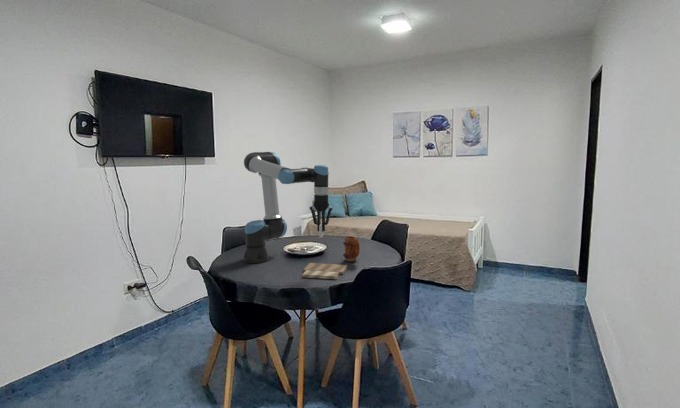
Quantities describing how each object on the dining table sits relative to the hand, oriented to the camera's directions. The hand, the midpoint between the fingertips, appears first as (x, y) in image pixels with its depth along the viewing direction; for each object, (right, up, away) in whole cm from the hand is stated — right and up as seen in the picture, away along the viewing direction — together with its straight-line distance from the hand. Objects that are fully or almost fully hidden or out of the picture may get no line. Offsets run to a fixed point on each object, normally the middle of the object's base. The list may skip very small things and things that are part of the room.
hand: (321, 236), depth 203 cm
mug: (+18, -16, +17) cm, 29 cm away
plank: (0, -20, -7) cm, 21 cm away
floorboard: (+2, -18, +3) cm, 19 cm away
